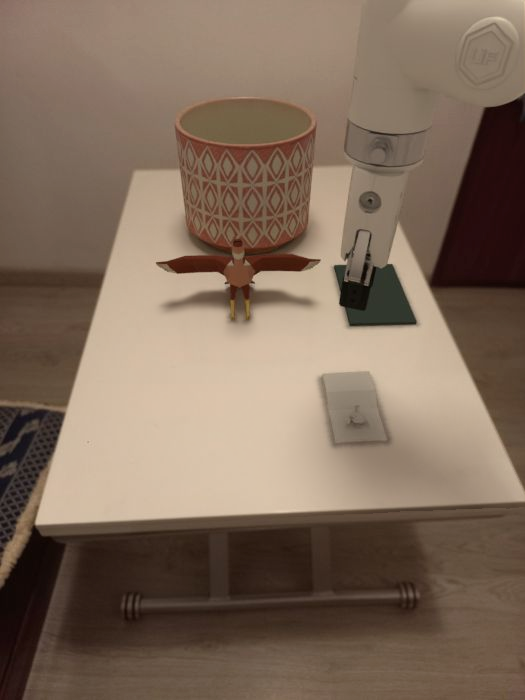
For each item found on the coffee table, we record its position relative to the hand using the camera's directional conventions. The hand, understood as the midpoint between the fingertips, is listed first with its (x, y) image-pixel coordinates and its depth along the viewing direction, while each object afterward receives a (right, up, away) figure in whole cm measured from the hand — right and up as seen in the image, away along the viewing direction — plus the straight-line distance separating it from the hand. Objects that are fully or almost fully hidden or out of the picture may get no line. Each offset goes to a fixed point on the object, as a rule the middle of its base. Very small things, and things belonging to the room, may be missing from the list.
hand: (356, 294), depth 56 cm
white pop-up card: (+2, -16, +13) cm, 21 cm away
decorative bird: (-16, +2, +31) cm, 35 cm away
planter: (-15, +21, +50) cm, 56 cm away
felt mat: (+10, +4, +33) cm, 35 cm away
